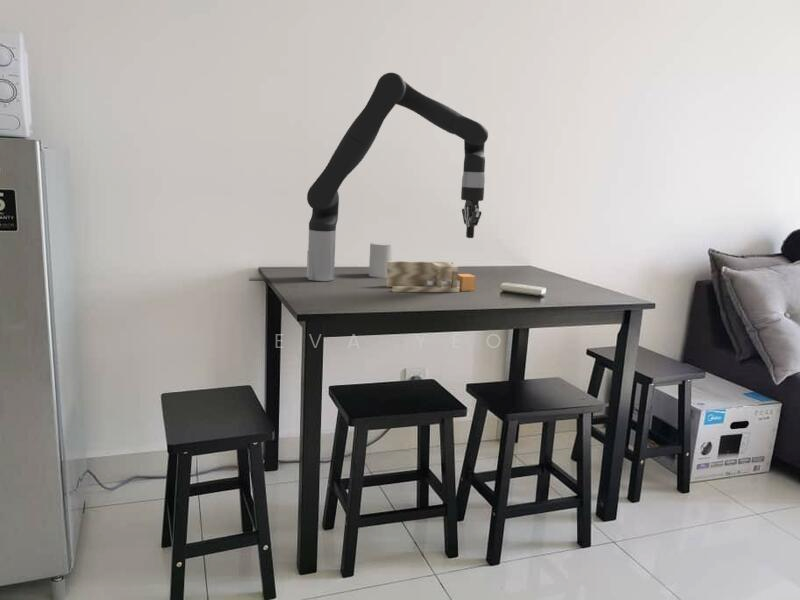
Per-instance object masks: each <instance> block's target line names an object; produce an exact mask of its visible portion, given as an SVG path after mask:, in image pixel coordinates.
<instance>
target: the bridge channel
mask: <svg viewBox="0 0 800 600" xmlns="http://www.w3.org/2000/svg"><path fill="white" fill-rule="evenodd" d="M458 274H459V266H457V265H455V264H454V263H453V262H452V261H399V260H396V261H394V260H392V261H388V263H387V278H386V284H385V285H386V287H387V288H388V287H391V289H392V292H393V293H397V292H398V293H402V292H403V293H405V292H406V293H420V292H421V293H460V291H461V290H460V287H457V281H458ZM424 279H436V287H424ZM442 279H452V284H451V287H442Z"/></svg>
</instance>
